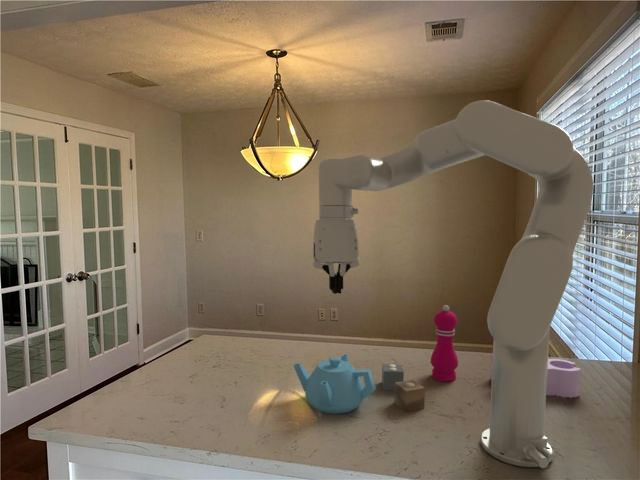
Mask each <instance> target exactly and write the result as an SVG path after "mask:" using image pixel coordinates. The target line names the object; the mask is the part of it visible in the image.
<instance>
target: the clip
mask: <svg viewBox="0 0 640 480" xmlns="http://www.w3.org/2000/svg"><path fill="white" fill-rule="evenodd" d="M490 357H491V358H490V380H491V381H492V359H493V353H492V354H491V356H490ZM580 385H581V368H579V367H576V362H573V361H570V360H565V359H561V358H548V370H547V386H546V395H547V396H554V395H557V396H556V397H559V396H561V397H560V398H566V397H569V398H570V399H572V398H573V397H574V398H577V397H579V396H580Z"/></svg>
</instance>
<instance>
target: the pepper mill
mask: <svg viewBox="0 0 640 480" xmlns="http://www.w3.org/2000/svg"><path fill="white" fill-rule="evenodd" d="M441 309H442V310H439V311H437V312H436V313H435V315H434V318H433V323H434V325H435V326H436V328H435V334H436V336H437V338H436V339H437V342H436V345H435V347H434V349H433V351H432V354H431V357H430V364H431V366H432V371H431V375H432V377H433V379H434V380H437V381H440V382H453V381H455V380H456V378H457V372H456V369H457V367H458V366H459V359H458V356H457V353H456V350H455V348H454V342H453V339H454V336H455V334H456V333H455V332H456V330H455V327H456V326H457V325H458V318H457V315H456V314H455V313H454V312H452V311H450V306H449V305H447V304H445V305H443V306H442V308H441Z"/></svg>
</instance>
